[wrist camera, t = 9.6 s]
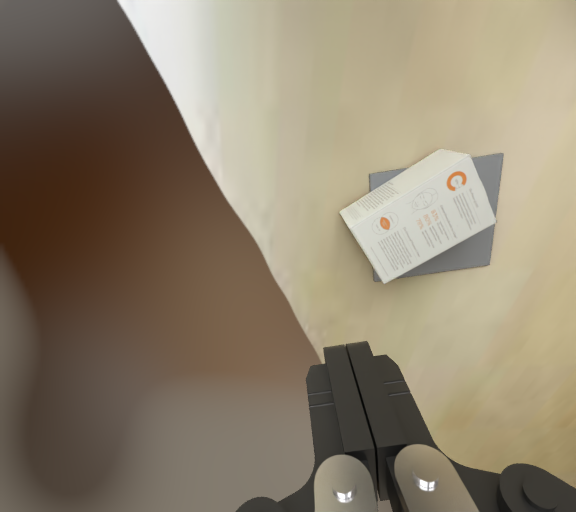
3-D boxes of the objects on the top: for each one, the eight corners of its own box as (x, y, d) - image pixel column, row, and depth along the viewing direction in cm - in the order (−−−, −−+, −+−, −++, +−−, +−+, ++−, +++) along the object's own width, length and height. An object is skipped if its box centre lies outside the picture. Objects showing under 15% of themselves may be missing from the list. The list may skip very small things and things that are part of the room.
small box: (369, 261, 40) (466, 206, 38) (383, 286, 35) (499, 223, 32) (337, 210, 38) (440, 146, 35) (348, 227, 32) (472, 153, 29)
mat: (369, 174, 36) (370, 174, 36) (501, 153, 36) (503, 153, 35) (373, 280, 42) (374, 281, 42) (487, 263, 42) (489, 264, 41)
